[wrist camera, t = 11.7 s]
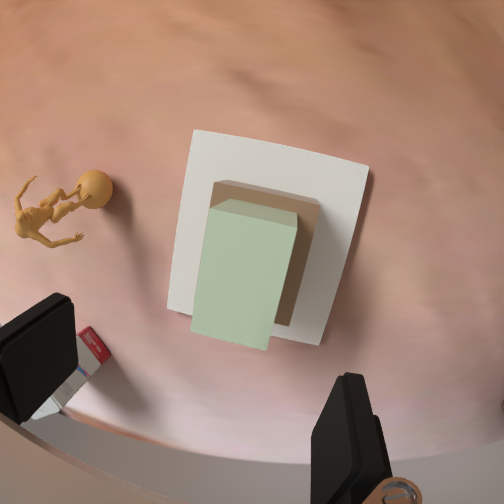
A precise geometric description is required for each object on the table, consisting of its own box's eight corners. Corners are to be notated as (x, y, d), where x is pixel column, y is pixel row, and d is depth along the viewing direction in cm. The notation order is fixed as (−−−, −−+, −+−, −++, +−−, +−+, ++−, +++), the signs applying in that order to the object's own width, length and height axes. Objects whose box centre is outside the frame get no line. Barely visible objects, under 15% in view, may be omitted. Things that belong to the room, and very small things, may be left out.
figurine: (139, 200, 31) (65, 220, 20) (109, 240, 33) (36, 274, 21) (92, 149, 31) (12, 149, 19) (65, 190, 32) (-13, 205, 21)
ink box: (90, 324, 36) (33, 372, 25) (113, 355, 37) (63, 409, 26) (58, 346, 38) (7, 389, 27) (79, 373, 39) (32, 421, 28)
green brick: (230, 198, 24) (209, 208, 18) (297, 213, 23) (297, 228, 18) (212, 296, 26) (190, 331, 20) (273, 311, 26) (266, 350, 20)
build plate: (197, 130, 29) (174, 122, 23) (366, 166, 28) (384, 166, 22) (170, 304, 34) (147, 330, 28) (318, 340, 32) (321, 374, 27)
